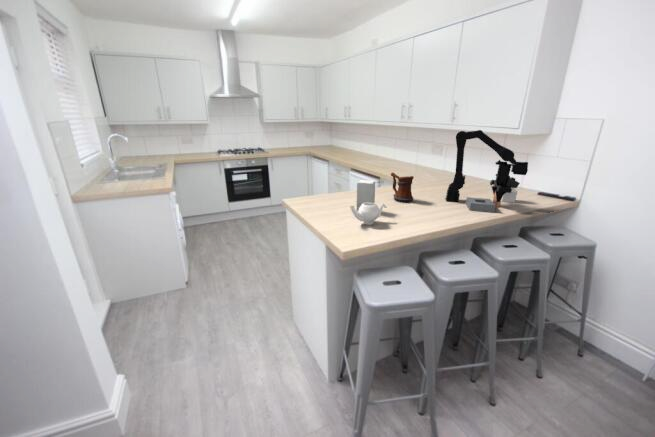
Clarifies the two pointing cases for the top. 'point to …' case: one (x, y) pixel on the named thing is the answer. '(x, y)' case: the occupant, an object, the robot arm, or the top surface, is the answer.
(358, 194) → the skincare box
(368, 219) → the teapot
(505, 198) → the medicine bottle
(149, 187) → the top surface
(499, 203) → the peg
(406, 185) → the mug
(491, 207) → the socket block
